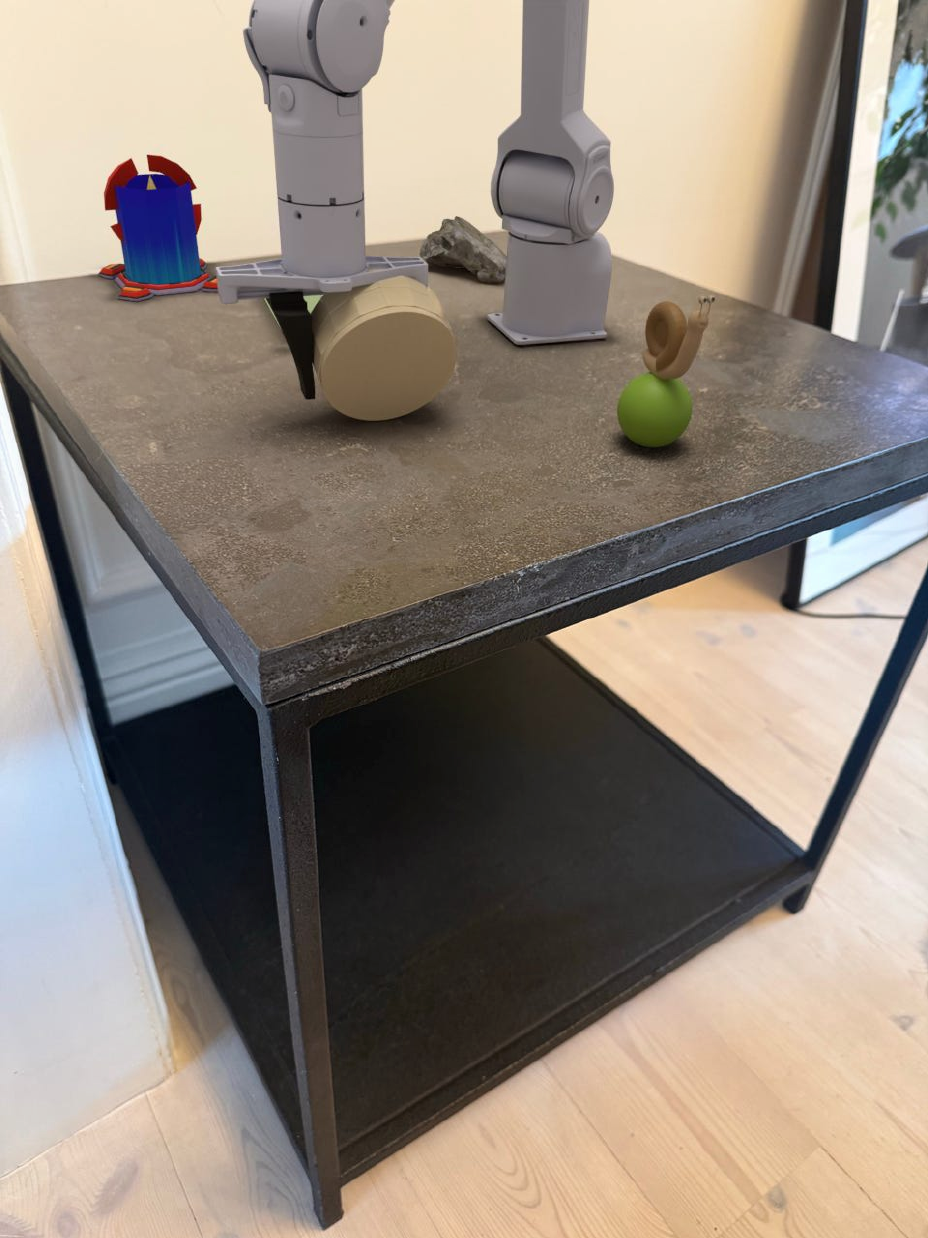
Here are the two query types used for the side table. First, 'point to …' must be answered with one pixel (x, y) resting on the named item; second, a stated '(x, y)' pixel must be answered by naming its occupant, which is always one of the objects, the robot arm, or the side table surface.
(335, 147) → the robot arm
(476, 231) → the grey rock
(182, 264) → the fantasy tower
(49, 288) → the side table surface
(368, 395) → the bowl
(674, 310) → the snail figurine
